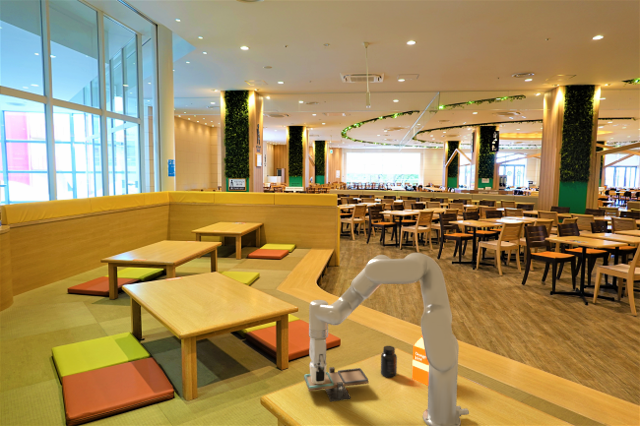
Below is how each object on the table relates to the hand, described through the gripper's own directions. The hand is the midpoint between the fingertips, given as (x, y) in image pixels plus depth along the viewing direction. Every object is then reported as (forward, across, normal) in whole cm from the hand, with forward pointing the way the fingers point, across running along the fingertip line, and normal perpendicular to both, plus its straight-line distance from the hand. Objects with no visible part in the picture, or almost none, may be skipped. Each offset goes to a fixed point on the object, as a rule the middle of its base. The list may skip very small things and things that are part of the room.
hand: (317, 375), depth 152 cm
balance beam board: (+2, 0, +7) cm, 8 cm away
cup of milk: (+2, 0, 0) cm, 2 cm away
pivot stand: (+7, 0, +7) cm, 10 cm away
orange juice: (+7, -1, +47) cm, 48 cm away
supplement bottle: (+7, -8, +33) cm, 35 cm away
